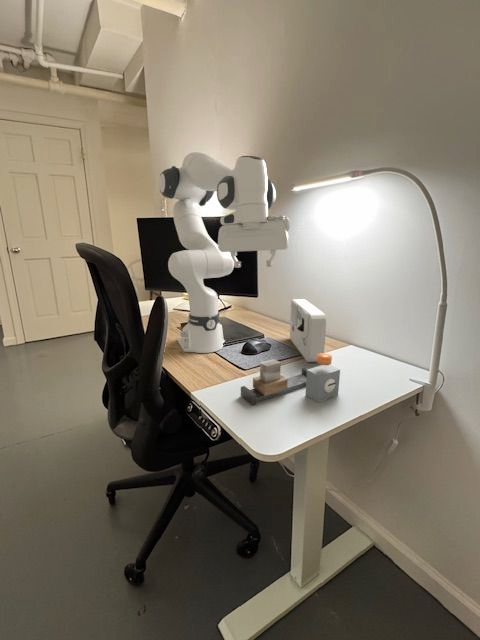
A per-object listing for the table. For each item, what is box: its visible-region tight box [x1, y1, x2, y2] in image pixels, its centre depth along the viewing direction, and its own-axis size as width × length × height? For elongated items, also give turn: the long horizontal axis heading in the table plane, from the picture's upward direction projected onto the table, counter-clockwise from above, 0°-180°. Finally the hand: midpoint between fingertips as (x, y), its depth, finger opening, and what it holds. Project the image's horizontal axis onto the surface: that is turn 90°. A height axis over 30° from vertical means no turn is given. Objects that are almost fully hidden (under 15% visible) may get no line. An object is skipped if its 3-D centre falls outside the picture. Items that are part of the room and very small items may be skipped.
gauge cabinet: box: [305, 364, 341, 403], centre depth 94 cm, size 6×8×8 cm
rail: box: [240, 367, 309, 406], centre depth 98 cm, size 6×24×3 cm, turn 122°
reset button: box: [316, 352, 333, 366], centre depth 92 cm, size 4×4×2 cm
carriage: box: [252, 358, 288, 396], centre depth 95 cm, size 6×8×8 cm
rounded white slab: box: [289, 298, 327, 363], centre depth 128 cm, size 29×8×18 cm, turn 6°
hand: (253, 267), depth 95 cm, fingers open, 8 cm apart
